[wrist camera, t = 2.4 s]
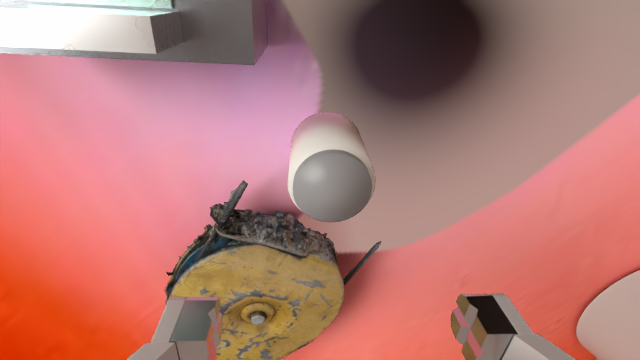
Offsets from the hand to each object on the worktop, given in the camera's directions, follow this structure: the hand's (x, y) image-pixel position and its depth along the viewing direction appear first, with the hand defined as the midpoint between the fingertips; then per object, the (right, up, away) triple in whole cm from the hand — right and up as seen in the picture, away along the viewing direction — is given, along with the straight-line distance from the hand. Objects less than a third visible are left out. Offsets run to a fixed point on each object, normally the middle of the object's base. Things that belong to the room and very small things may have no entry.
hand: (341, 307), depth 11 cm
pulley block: (-9, -8, +21) cm, 24 cm away
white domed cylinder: (0, +7, +12) cm, 14 cm away
